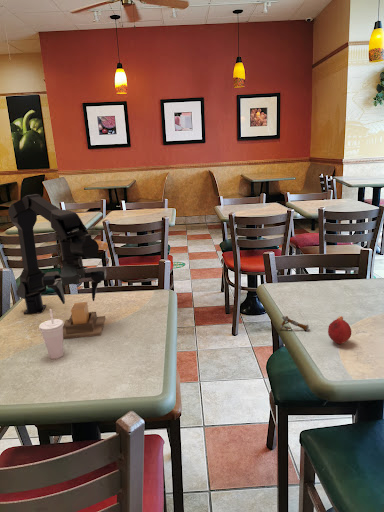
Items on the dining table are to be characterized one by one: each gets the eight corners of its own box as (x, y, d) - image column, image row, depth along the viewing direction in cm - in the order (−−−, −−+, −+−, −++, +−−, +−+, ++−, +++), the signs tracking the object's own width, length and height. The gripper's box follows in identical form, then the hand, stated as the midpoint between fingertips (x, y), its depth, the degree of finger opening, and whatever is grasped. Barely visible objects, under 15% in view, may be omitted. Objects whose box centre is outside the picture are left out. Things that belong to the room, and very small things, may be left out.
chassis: (66, 322, 132) (64, 313, 131) (105, 318, 133) (104, 309, 132) (57, 339, 119) (55, 329, 119) (100, 335, 120) (99, 325, 120)
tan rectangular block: (77, 322, 129) (74, 303, 127) (89, 321, 129) (87, 301, 127) (74, 330, 123) (70, 310, 121) (87, 329, 123) (84, 308, 121)
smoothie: (61, 362, 106) (52, 314, 103) (39, 360, 108) (31, 313, 104) (72, 350, 112) (65, 304, 109) (52, 349, 114) (44, 304, 110)
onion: (339, 351, 102) (340, 323, 100) (323, 342, 107) (323, 315, 105) (355, 345, 104) (356, 317, 102) (338, 337, 109) (339, 310, 107)
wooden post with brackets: (276, 326, 117) (282, 313, 115) (301, 336, 116) (308, 323, 115) (276, 328, 115) (283, 315, 114) (302, 339, 114) (309, 326, 113)
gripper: (32, 264, 111) (41, 315, 115) (99, 258, 113) (106, 308, 117) (42, 254, 122) (51, 301, 126) (103, 249, 123) (109, 295, 127)
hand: (78, 302), depth 124 cm, fingers open, 9 cm apart
